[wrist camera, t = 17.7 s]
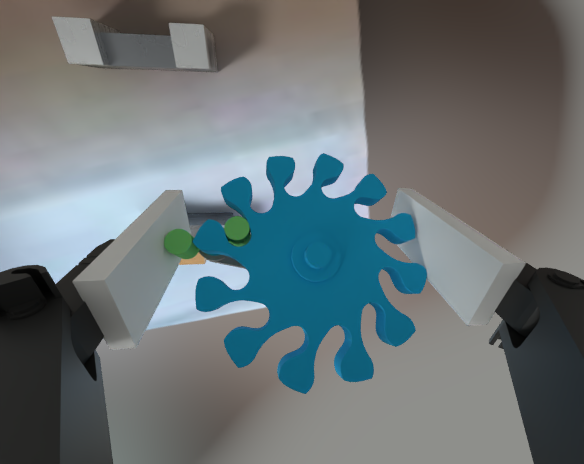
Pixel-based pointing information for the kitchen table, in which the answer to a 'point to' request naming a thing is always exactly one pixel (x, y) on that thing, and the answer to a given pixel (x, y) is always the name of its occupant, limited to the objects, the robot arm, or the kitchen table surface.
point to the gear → (306, 268)
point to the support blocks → (143, 64)
